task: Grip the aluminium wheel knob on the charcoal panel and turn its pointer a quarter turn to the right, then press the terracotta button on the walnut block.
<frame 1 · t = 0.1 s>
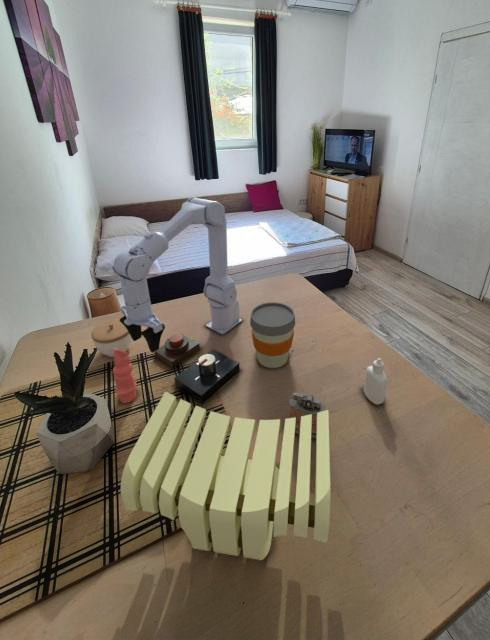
hand: (145, 344, 85), 10 cm above the table, tool pointing down, fingers open, 7 cm apart
dial: (207, 364, 85), point 5 cm above the table, hinge at 0.0°
lighter: (305, 430, 73), on the table
trinket box: (116, 350, 98), on the table
button: (176, 340, 95), point 4 cm above the table, slide at 0.1 cm
slatted curved stool: (238, 509, 58), on the table
reusable coffee cup: (272, 357, 95), on the table
panel: (208, 378, 87), on the table
figurine: (128, 397, 82), on the table
eye dropper bottle: (372, 397, 82), on the table
button block: (178, 352, 97), on the table
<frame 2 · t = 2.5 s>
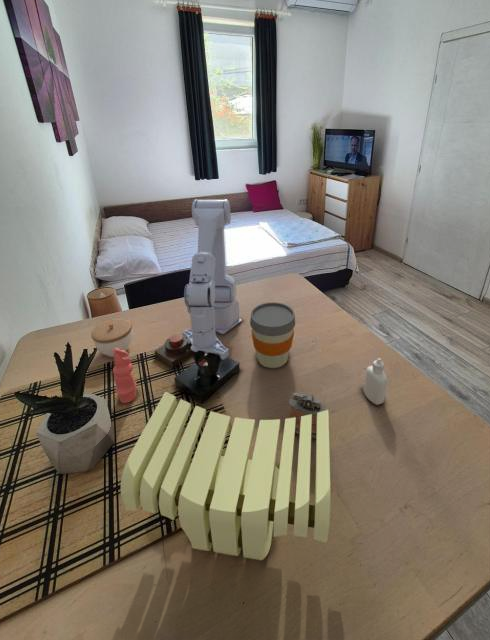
hand: (207, 368, 86), 3 cm above the table, tool pointing down, fingers closed on dial, 4 cm apart
dial: (207, 364, 85), point 5 cm above the table, hinge at -0.2°, touching gripper
everything else where it was.
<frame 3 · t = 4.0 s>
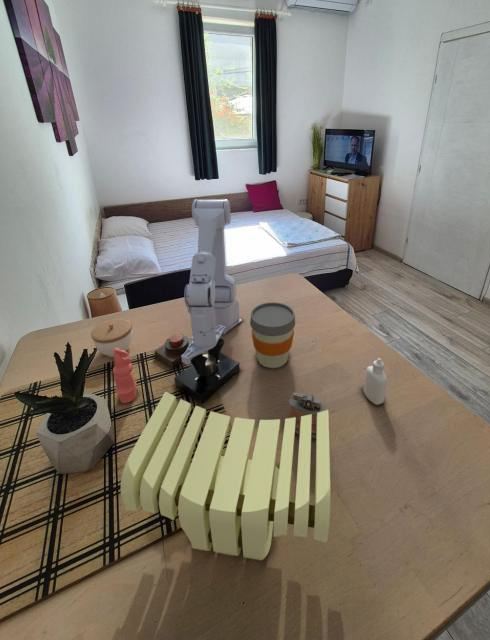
hand: (207, 368, 86), 3 cm above the table, tool pointing down, fingers closed on dial, 4 cm apart
dial: (207, 364, 85), point 5 cm above the table, hinge at -84.9°, touching gripper
everything else where it was.
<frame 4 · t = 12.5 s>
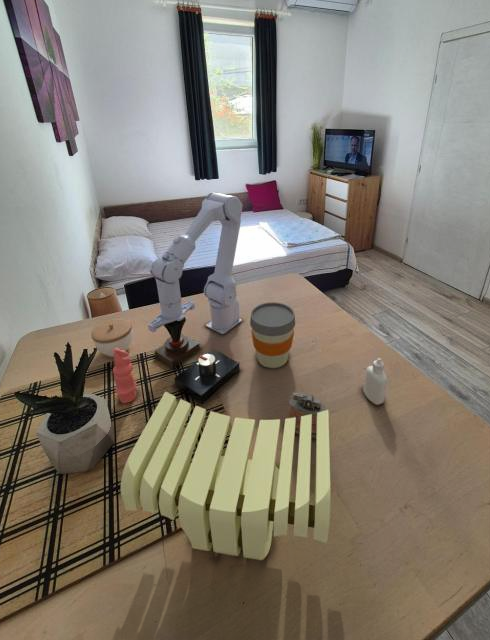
hand: (176, 339, 95), 5 cm above the table, tool pointing down, fingers closed, pressing on button
dial: (207, 364, 85), point 5 cm above the table, hinge at -84.8°
button: (176, 341, 95), point 4 cm above the table, slide at -0.4 cm, touching gripper
everything else where it was.
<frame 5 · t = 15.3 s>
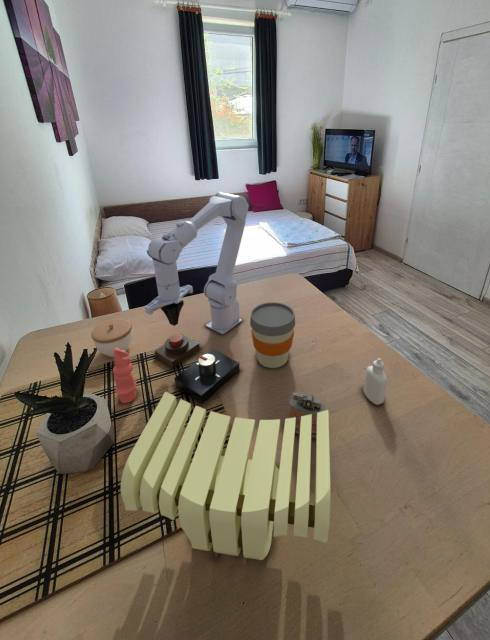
hand: (173, 323, 93), 10 cm above the table, tool pointing down, fingers closed
button: (176, 340, 95), point 4 cm above the table, slide at 0.1 cm
everything else where it was.
at the end: dial at -85° (first picture: +0°); button pushed in 1.2 cm at the most during the clip, back to where it started at the end; button slide at 0.1 cm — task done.
